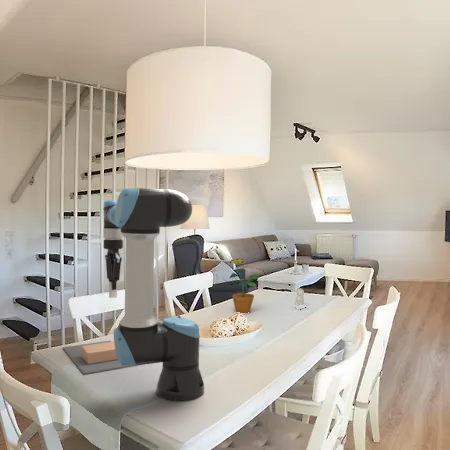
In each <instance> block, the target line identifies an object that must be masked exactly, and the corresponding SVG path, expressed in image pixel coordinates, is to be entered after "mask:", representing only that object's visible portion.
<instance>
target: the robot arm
mask: <svg viewBox="0 0 450 450" xmlns="http://www.w3.org/2000/svg"><path fill="white" fill-rule="evenodd" d="M102 209H103V233H102V235H103V236H102V237H103V238H104V239H103V249H104V250H107V251H106V252H107V253H106V254H105V255H104V258H105V263H106V264H105V267H106V278H107V280H108V298H109V299H116V298H118V281H120V274H121V266H122V265H121V264H122V260H123V257H121V256H120V251H119V250H122V249H123V248H124V240H123V237H124V239H125V258H124V259H125V263H124V264H125V267H124V269H125V271H124V316H123V317H122V318H121V319H120V320H119V326H118V327H115V328H114V329H113V342H114V344H115V350H116V354H117V358H118V361H119V363H120V364H121V365H122V366H132V367H137V366H144V365H152V364H158V363H162V367H161V368H162V369H161V372H160V374H159V378H158V380H157V384H156V394H157V395H158V397H160V398H163V399H164V400H169V401H176V402H177V401H178V402H179V401H180V402H185V401H190V400H194V399H197V398H200V397H201V396H202V395H204V392H205V382H204V379H203V376H202V373H201V370H200V338H201V336H200V326H199V324H198V323H197V322H196V321H193V320H192V319H189V318H183V317H181V318H176V316H175V317H174V316H171V317H165V318H164V320H163V319H162V320H163V322H162V323H163V324H159V325H158V320H159V319H157V318H156V317H155V316H154V283H155V282H154V280H155V279H154V278H155V272H154V271H155V268H154V267H155V238H156V237H158V236H159V234H160V230H161V228H167V227H168V228H170V227H176V226H180V225H183V224H184V223H186V222H187V221H189V219H190V218H191V216H192V214H193V204H192V202H191V200H190V199H189V197H188V196H187V195H186V194H185V193H182V192H180V191H179V190H176V189H171V188H166V189H165V188H139V187H131V188H124V189H122V190H121V191H120V193H119V194H118V197H117V200H105V201H104V202H103V208H102Z"/></svg>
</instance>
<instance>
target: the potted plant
mask: <svg viewBox="0 0 450 450" xmlns="http://www.w3.org/2000/svg"><path fill="white" fill-rule="evenodd" d="M244 261H245V260H244V259H242V258H235V259H231V260H229V263H230V264H234V265H235V264H236V267H237V273H238V274H236V273H235V272H232V274H231V275H230V276H229V279H232V278H234V279H235V280H236V281H234V282H232V283H230V286H231V287H234V286H237V285H238V284H239V283H241V286H242V292H239V293H238V292H237V293H233V294H232V295H231V296H232V301H233V305H234V308H235V312H240V313H248V312H249V313H251V309H252V305H253V301H254V298H255V295H254V294H252V293H251V294H250V293H247V292H245V291H244V287H245V286H246V285H247V289H250V288H254V287H256V286H257V282H258V279H259V278H260V274H257V275H256V274H255V275H250V276H249V278H248V280H247V281H246V282H245V284H243V279H242V276H241V274H240V270H239V266H238V264H241V263H244ZM236 277H239V278H240V280H238V279H237V278H236ZM250 279H251V281H250ZM244 292H245V293H244ZM249 313H248V314H249Z"/></svg>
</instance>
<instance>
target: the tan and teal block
mask: <svg viewBox="0 0 450 450" xmlns="http://www.w3.org/2000/svg"><path fill="white" fill-rule="evenodd" d="M81 357H82V358H83V359H84V360H85V361H86V362H87V363H88V364H94V363H100V362H106V361H112V360H118V358H117V354H116V350H115V344H114V341H111V342H107V343H100V344H93V345H86V346H81Z"/></svg>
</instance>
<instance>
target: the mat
mask: <svg viewBox="0 0 450 450" xmlns="http://www.w3.org/2000/svg"><path fill="white" fill-rule="evenodd" d="M107 342H112V341H111V340H104V341H99V342H92V343H83V344H77V345H69V346H62V350H63V351H64V352H65V353H66V354H67V356H68V357H69V358H70V359H71V361H72V362H73V363H74V364H75V366H76V365H77V366H78V367H77V366H76V367H77V368H78V369H79V371H80V370H81V371H80V372H81V373H82V374H83V375H84V376H86V375H92V374H98V373H103V372H109V371H114V370H121V369H125V368H132V367H133V366H122V365H121V364H120V363H119V361H118V360H112V361H106V362H100V363H94V364H88V363H87V362H86V361H85V360H84V359H83V358H82V357H81V346H86V345H93V344H100V343H107Z"/></svg>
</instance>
